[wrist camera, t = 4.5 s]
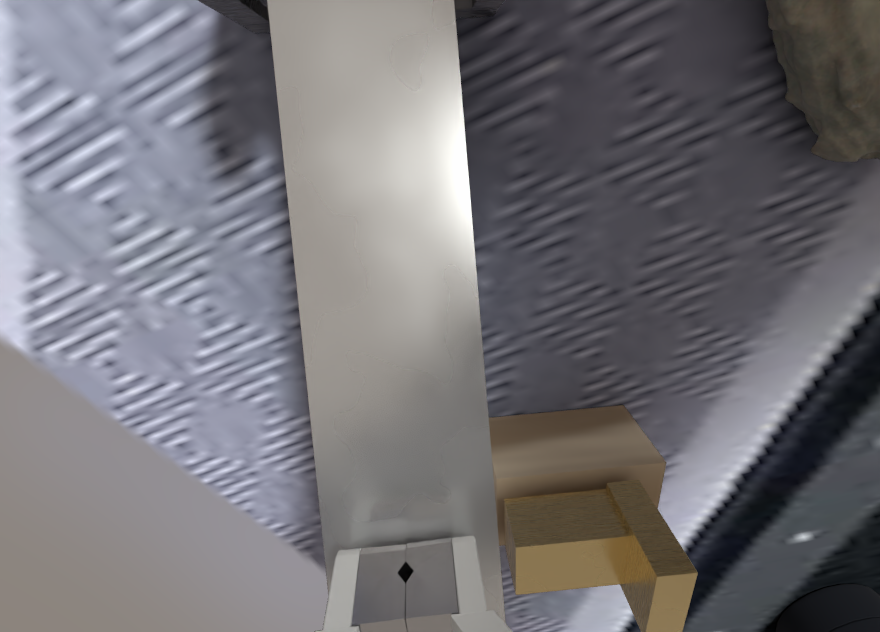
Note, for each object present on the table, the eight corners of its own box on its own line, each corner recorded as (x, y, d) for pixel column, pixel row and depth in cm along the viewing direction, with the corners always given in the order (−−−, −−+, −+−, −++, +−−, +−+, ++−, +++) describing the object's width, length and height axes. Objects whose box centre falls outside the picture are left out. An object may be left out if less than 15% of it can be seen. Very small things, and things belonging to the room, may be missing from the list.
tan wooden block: (482, 418, 19) (496, 478, 16) (623, 404, 19) (666, 462, 16) (484, 478, 21) (497, 545, 17) (615, 466, 21) (653, 530, 18)
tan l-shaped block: (504, 493, 16) (528, 590, 12) (638, 479, 16) (697, 572, 13) (504, 549, 17) (526, 651, 14) (629, 536, 17) (681, 634, 14)
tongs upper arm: (267, -65, 11) (219, -173, 8) (454, -78, 11) (462, -187, 9) (351, 758, 12) (331, 879, 10) (521, 739, 12) (545, 853, 10)
